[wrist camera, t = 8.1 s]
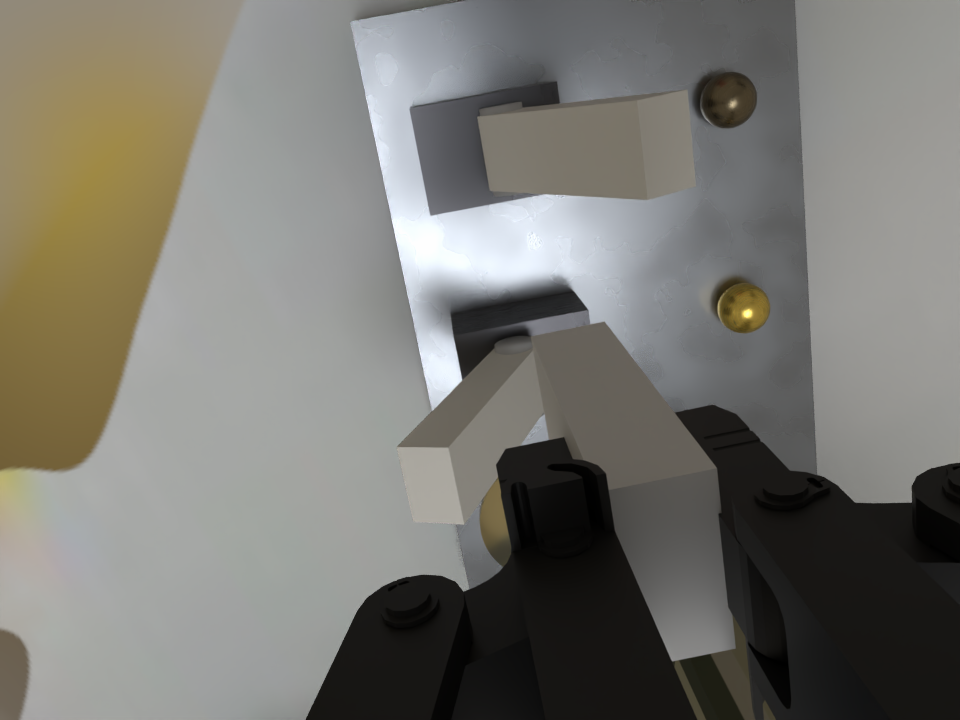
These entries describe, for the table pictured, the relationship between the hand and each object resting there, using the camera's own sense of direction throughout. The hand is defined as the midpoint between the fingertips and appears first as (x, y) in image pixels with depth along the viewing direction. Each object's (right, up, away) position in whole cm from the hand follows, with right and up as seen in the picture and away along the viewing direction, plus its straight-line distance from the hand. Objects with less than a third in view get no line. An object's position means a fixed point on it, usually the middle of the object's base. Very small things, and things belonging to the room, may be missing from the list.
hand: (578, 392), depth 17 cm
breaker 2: (-2, +8, +11) cm, 14 cm away
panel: (+3, +4, +18) cm, 19 cm away
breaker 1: (0, 0, +14) cm, 14 cm away
